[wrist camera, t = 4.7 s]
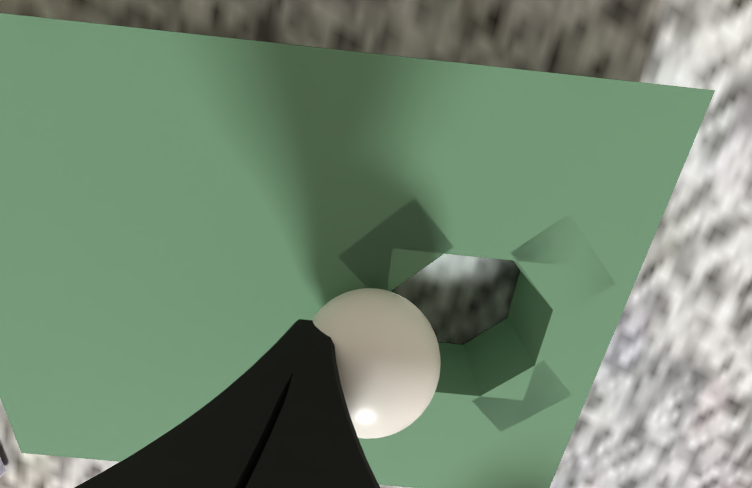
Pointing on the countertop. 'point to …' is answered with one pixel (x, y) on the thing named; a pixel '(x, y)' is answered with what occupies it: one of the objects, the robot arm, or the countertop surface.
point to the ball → (381, 358)
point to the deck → (310, 230)
